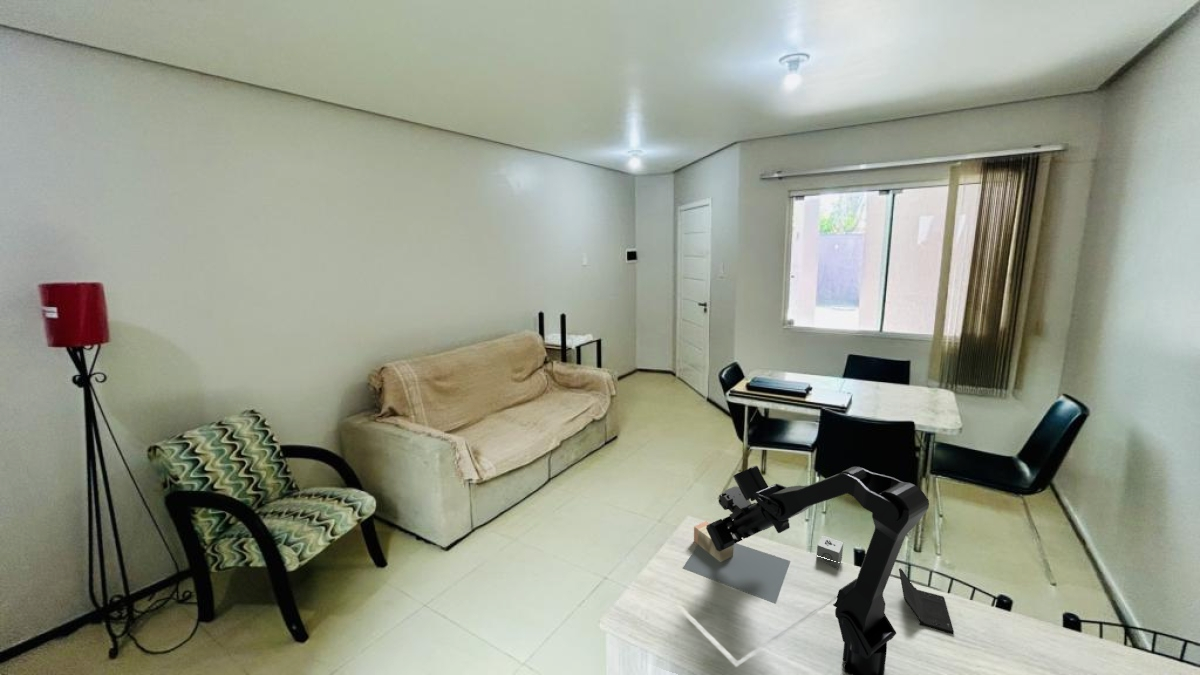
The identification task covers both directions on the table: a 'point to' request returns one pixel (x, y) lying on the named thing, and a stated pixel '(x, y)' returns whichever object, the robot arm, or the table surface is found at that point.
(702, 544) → the beech block
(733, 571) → the slate mat
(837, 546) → the grey printed cube
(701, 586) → the table surface
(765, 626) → the table surface
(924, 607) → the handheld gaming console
